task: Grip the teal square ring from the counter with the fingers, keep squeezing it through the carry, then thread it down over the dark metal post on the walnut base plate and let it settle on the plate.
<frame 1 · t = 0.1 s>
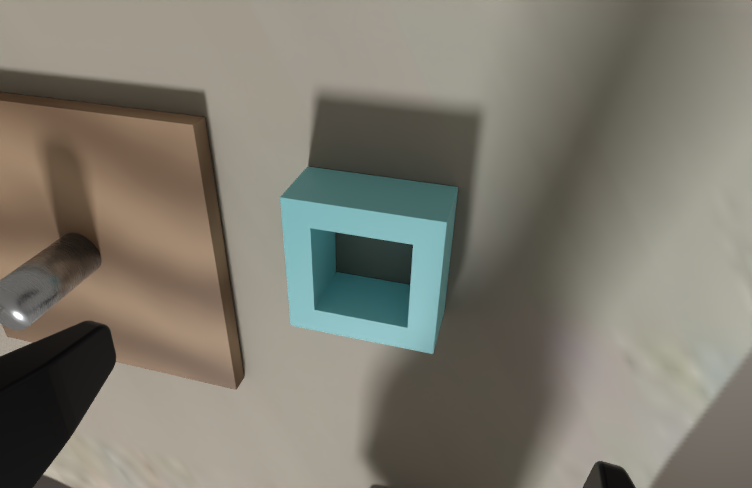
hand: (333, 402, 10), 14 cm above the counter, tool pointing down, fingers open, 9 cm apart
post: (46, 278, 28), on the base plate, point 4 cm above the counter
base plate: (94, 242, 30), on the counter
ring: (379, 242, 25), on the counter
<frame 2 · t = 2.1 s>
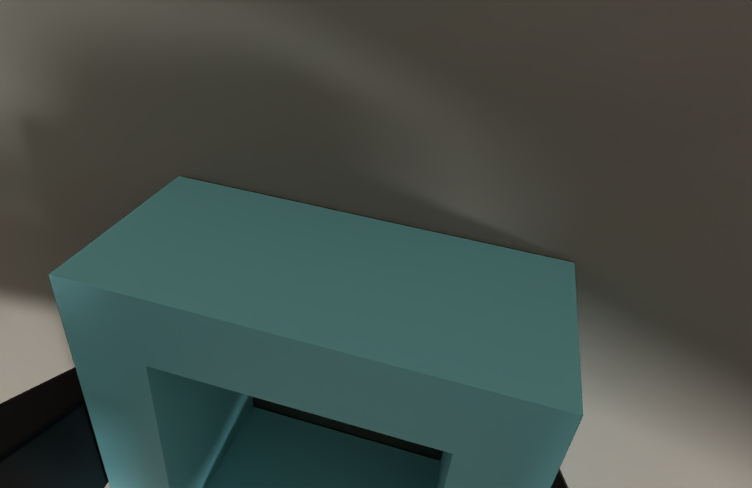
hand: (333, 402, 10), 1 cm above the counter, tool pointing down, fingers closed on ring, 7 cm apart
ring: (350, 363, 11), on the counter, touching gripper
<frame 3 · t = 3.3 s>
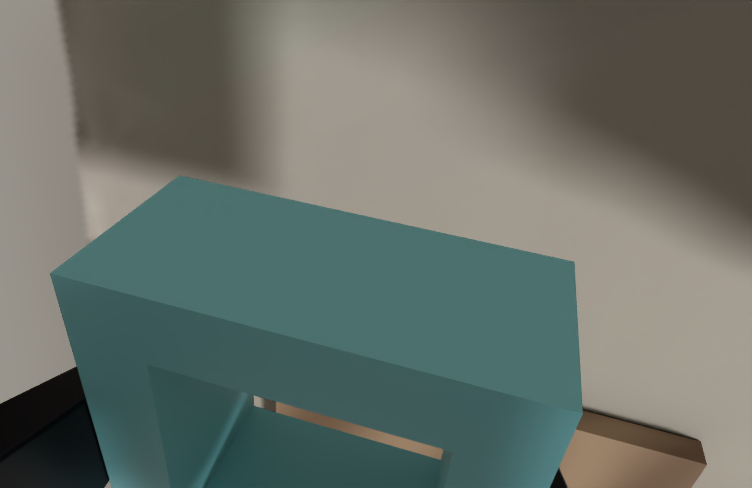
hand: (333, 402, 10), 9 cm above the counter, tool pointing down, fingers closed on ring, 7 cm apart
ring: (351, 362, 11), point 8 cm above the counter, touching gripper
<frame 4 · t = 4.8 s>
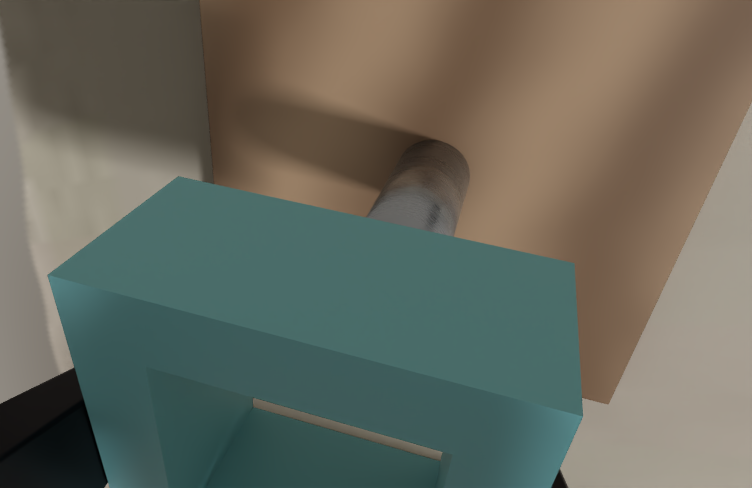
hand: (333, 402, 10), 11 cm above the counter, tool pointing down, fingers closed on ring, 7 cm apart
post: (417, 210, 16), on the base plate, point 4 cm above the counter
base plate: (438, 162, 19), on the counter
ring: (350, 363, 11), point 10 cm above the counter, touching gripper
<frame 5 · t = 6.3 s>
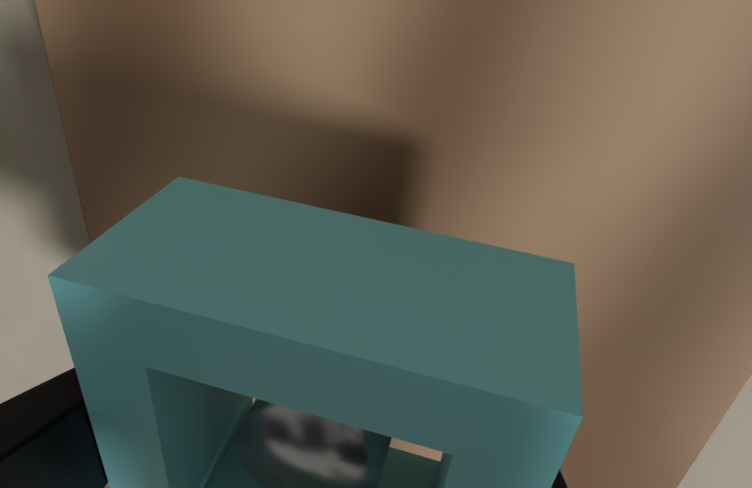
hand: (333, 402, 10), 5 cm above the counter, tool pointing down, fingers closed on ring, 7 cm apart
post: (351, 357, 11), on the base plate, point 4 cm above the counter
base plate: (393, 261, 14), on the counter
ring: (350, 363, 11), point 4 cm above the counter, touching gripper
when the fingers open (3 cm above the counter, at t = 7.5 s): ring drops 1 cm, resting on base plate.
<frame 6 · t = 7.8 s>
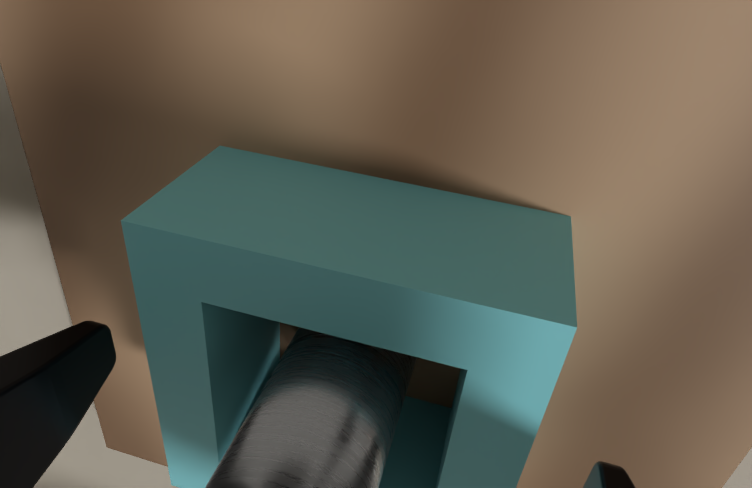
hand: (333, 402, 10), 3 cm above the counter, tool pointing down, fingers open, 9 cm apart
post: (332, 404, 10), on the base plate, point 4 cm above the counter
base plate: (381, 289, 13), on the counter
ring: (370, 316, 12), point 1 cm above the counter, touching base plate
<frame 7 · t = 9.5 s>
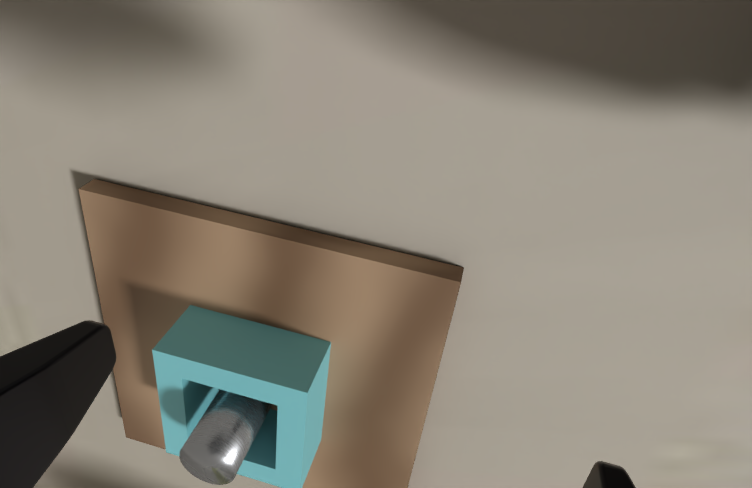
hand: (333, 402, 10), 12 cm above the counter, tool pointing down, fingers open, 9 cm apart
post: (235, 416, 24), on the base plate, point 4 cm above the counter
base plate: (267, 361, 27), on the counter
ring: (259, 375, 26), point 1 cm above the counter, touching base plate
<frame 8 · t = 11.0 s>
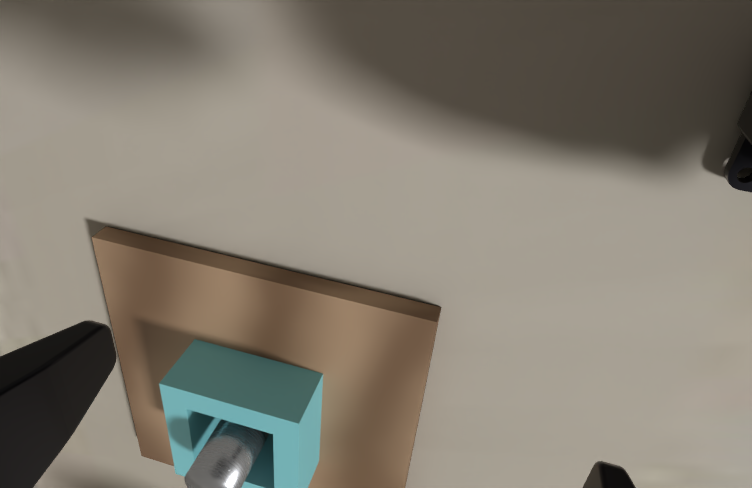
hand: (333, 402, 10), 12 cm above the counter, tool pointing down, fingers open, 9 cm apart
post: (236, 442, 26), on the base plate, point 4 cm above the counter
base plate: (267, 388, 29), on the counter
ring: (259, 402, 28), point 1 cm above the counter, touching base plate
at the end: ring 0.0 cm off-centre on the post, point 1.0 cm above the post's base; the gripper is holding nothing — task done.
